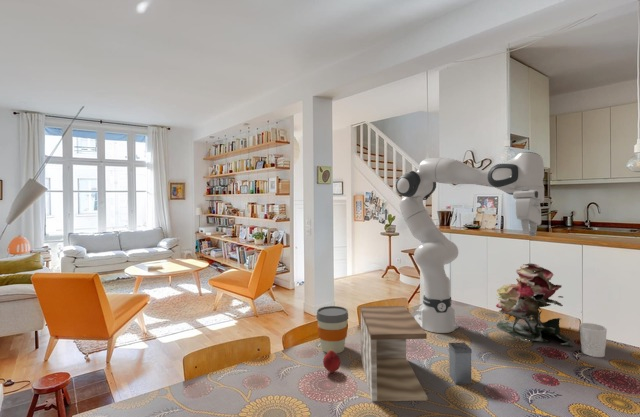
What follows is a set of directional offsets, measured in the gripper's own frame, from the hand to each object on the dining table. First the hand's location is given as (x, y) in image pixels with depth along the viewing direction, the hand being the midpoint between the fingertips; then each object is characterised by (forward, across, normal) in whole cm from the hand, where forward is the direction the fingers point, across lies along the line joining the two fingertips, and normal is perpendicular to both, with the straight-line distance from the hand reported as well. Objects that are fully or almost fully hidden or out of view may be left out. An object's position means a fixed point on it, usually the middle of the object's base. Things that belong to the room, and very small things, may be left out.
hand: (529, 235), depth 121 cm
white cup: (+41, -30, +14) cm, 52 cm away
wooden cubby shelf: (+50, +34, -32) cm, 69 cm away
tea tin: (+49, +21, -15) cm, 55 cm away
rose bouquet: (+39, -37, -8) cm, 54 cm away
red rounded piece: (+52, +44, -49) cm, 84 cm away
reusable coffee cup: (+49, +30, -61) cm, 84 cm away
